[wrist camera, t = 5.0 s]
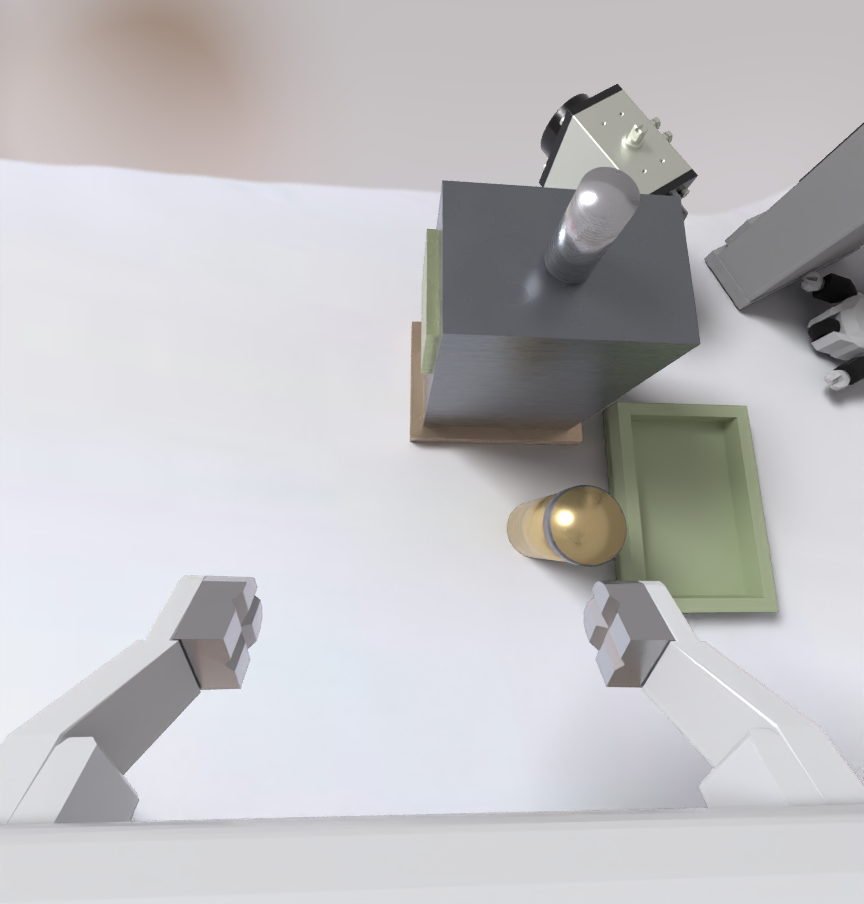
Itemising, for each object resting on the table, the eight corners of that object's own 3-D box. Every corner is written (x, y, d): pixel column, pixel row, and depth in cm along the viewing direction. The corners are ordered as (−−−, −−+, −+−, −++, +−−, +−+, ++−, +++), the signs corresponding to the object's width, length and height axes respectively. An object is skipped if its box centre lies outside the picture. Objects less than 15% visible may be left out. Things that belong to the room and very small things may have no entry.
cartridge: (563, 558, 34) (631, 566, 24) (506, 559, 34) (551, 566, 24) (560, 500, 35) (623, 485, 25) (504, 500, 34) (547, 484, 25)
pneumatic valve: (589, 309, 39) (672, 208, 27) (513, 212, 40) (560, 77, 28) (634, 280, 40) (733, 171, 28) (558, 187, 41) (622, 46, 29)
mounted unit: (576, 444, 36) (804, 321, 16) (409, 441, 35) (425, 303, 15) (569, 335, 38) (762, 101, 18) (411, 328, 37) (427, 73, 17)
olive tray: (751, 606, 34) (778, 611, 32) (618, 607, 33) (636, 612, 31) (723, 414, 38) (746, 405, 35) (602, 411, 37) (617, 402, 34)
